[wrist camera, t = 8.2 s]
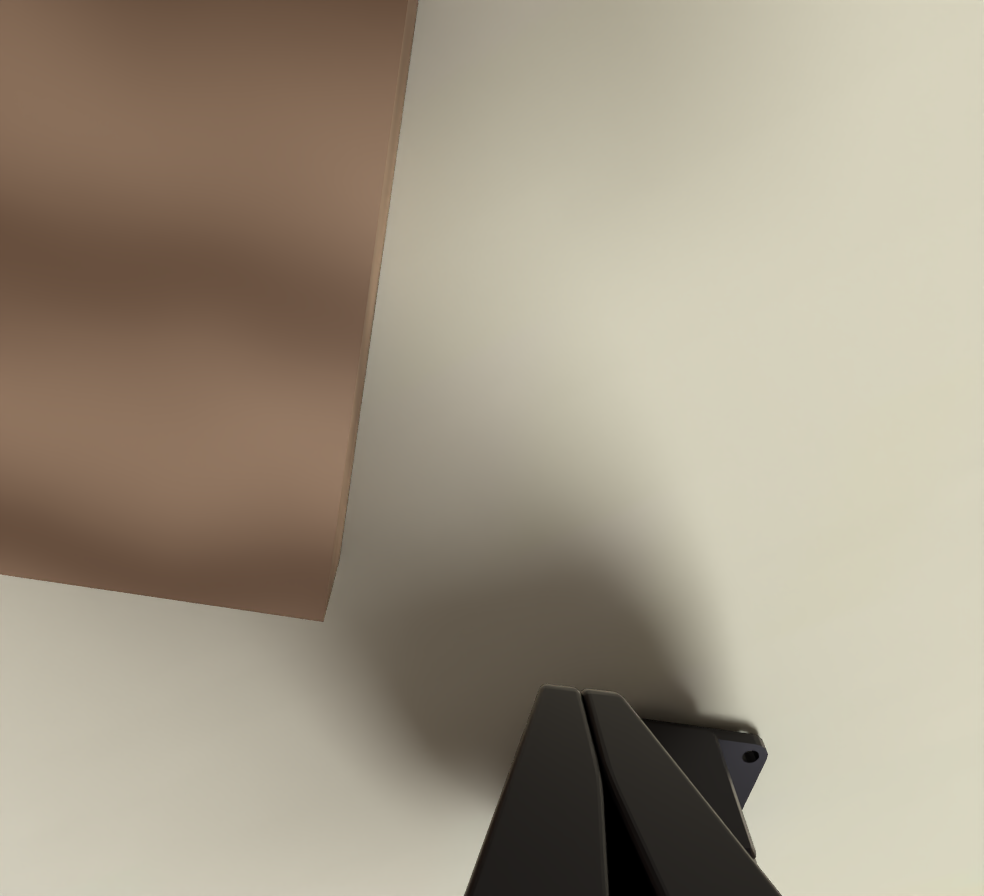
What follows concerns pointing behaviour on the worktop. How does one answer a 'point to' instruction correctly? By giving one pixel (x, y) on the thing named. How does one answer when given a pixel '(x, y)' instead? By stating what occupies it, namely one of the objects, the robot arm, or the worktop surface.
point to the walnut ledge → (190, 287)
